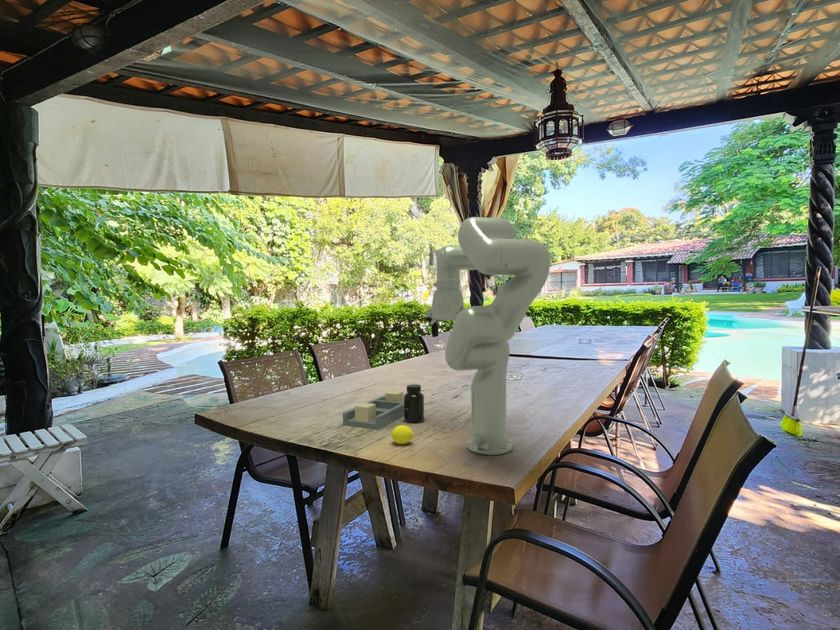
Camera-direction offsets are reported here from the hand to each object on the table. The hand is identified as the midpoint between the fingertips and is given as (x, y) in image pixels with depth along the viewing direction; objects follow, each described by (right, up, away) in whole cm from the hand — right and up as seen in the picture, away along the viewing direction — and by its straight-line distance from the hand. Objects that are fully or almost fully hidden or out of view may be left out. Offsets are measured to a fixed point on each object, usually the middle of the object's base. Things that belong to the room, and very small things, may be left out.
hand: (448, 337), depth 148 cm
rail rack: (-23, -28, +9) cm, 38 cm away
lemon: (-14, -30, -20) cm, 39 cm away
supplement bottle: (-11, -29, +3) cm, 31 cm away
